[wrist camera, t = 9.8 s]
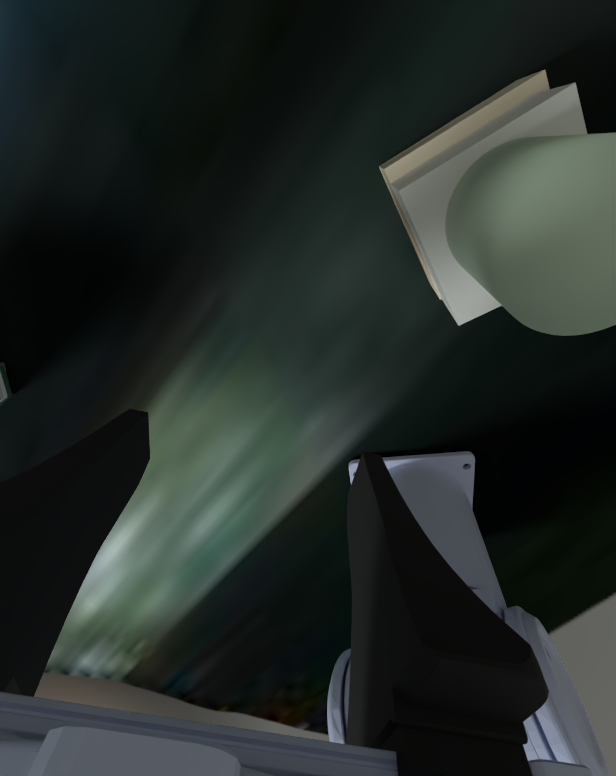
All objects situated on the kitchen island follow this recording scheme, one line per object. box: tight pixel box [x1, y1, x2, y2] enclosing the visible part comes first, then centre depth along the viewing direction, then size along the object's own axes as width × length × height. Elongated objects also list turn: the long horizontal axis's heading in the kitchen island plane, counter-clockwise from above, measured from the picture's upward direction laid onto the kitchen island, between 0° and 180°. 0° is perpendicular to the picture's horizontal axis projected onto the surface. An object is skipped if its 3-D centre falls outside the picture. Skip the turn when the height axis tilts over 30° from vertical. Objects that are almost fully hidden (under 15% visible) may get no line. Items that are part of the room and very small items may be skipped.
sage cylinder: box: [445, 133, 616, 336], centre depth 11 cm, size 4×4×5 cm
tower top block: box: [390, 82, 587, 326], centre depth 15 cm, size 6×6×3 cm
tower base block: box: [379, 70, 550, 300], centre depth 17 cm, size 6×6×3 cm
